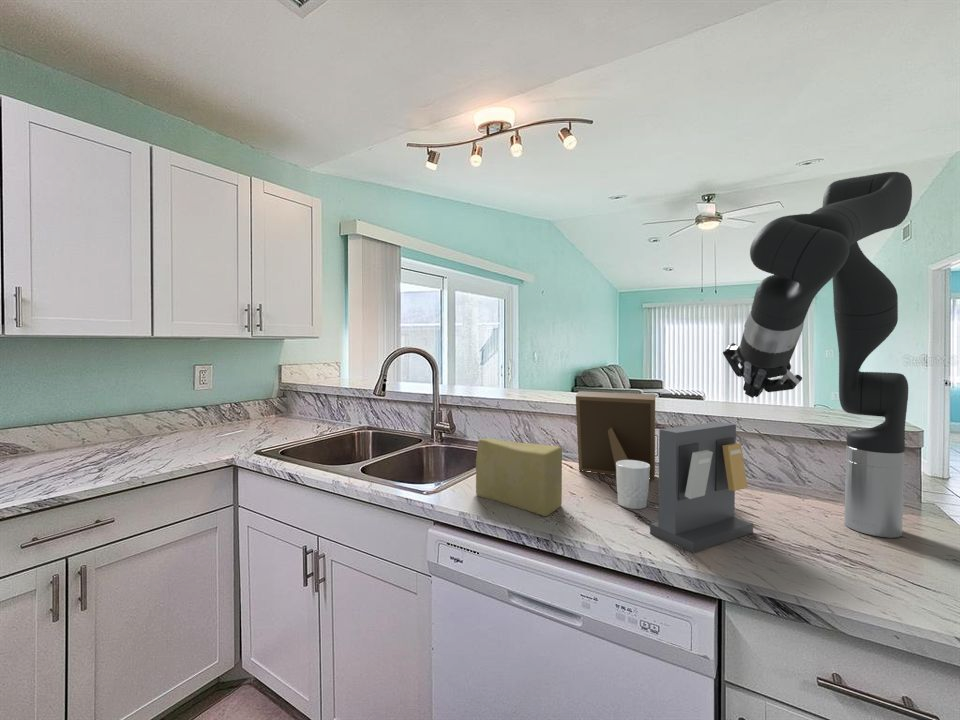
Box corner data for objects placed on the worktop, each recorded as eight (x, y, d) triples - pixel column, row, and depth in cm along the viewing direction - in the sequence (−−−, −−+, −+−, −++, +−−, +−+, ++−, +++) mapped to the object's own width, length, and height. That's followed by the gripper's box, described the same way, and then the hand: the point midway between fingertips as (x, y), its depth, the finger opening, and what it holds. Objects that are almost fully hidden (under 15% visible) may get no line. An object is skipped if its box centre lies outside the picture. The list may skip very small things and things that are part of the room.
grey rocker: (699, 492, 89) (707, 449, 88) (705, 495, 88) (713, 452, 86) (684, 496, 87) (692, 452, 85) (690, 499, 86) (698, 455, 84)
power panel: (708, 516, 102) (710, 420, 101) (752, 532, 93) (755, 427, 93) (650, 533, 93) (651, 427, 92) (693, 553, 84) (694, 436, 83)
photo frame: (581, 467, 143) (582, 389, 142) (655, 475, 134) (656, 392, 133) (571, 481, 129) (572, 394, 128) (652, 491, 120) (653, 398, 119)
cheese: (466, 499, 114) (465, 440, 113) (487, 489, 122) (487, 434, 121) (545, 518, 101) (546, 452, 101) (563, 505, 109) (563, 444, 109)
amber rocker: (741, 487, 93) (735, 443, 94) (747, 487, 92) (741, 443, 93) (728, 490, 91) (722, 445, 92) (734, 491, 90) (728, 445, 91)
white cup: (609, 504, 110) (610, 464, 110) (624, 496, 116) (624, 458, 115) (641, 512, 105) (641, 470, 104) (654, 504, 110) (655, 463, 110)
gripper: (829, 337, 68) (800, 399, 81) (744, 301, 76) (730, 362, 89) (801, 369, 66) (775, 426, 79) (717, 328, 75) (706, 387, 88)
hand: (751, 392), depth 84 cm, fingers closed
